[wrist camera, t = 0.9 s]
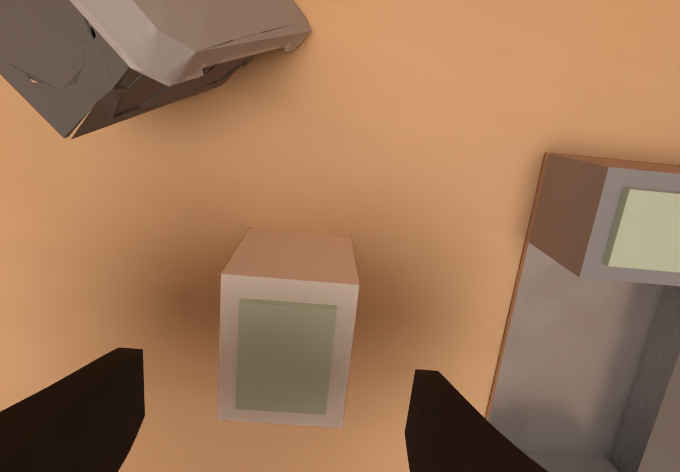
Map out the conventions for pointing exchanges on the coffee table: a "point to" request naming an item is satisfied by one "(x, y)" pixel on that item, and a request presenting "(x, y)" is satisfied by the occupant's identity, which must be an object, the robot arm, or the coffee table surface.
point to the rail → (589, 366)
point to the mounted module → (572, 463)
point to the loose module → (287, 328)
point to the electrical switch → (133, 52)
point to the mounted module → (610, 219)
